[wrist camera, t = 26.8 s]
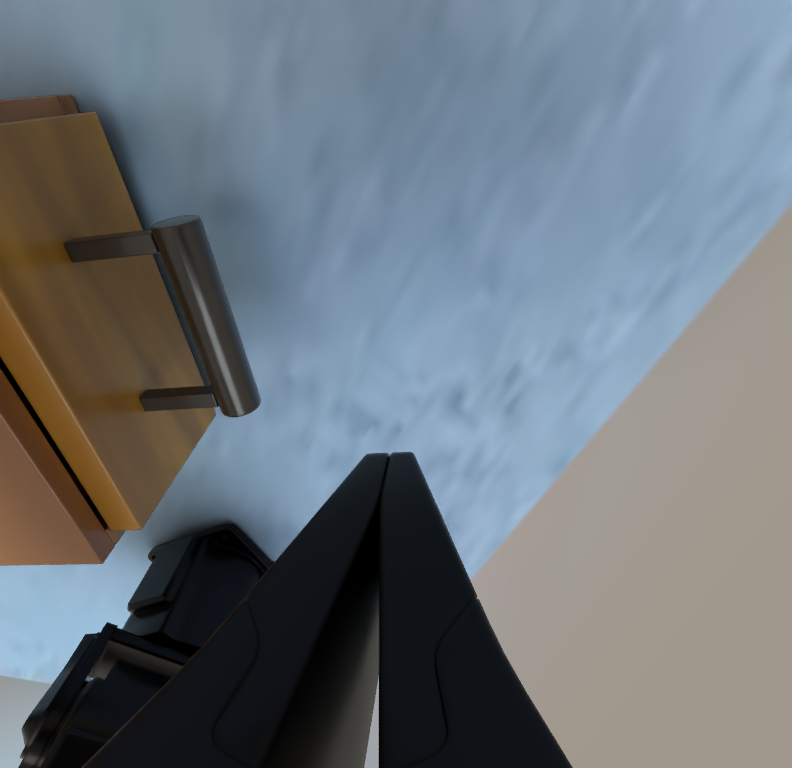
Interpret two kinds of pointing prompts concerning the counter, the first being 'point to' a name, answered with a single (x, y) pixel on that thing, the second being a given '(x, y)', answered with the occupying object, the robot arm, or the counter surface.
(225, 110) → the counter surface
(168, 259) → the drawer
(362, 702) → the robot arm
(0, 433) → the cabinet
